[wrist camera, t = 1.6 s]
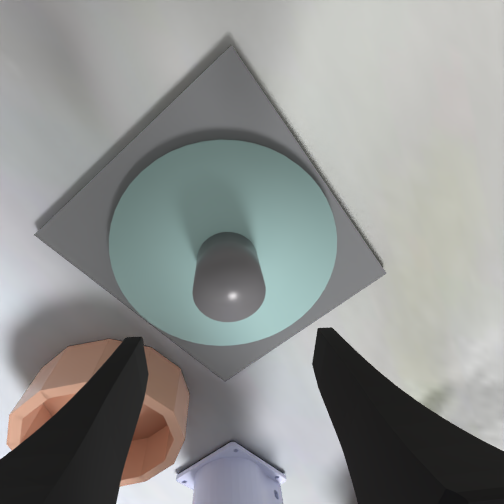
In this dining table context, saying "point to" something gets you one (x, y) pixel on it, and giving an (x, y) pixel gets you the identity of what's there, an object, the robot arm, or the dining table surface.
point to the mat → (188, 132)
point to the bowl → (150, 419)
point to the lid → (222, 242)
